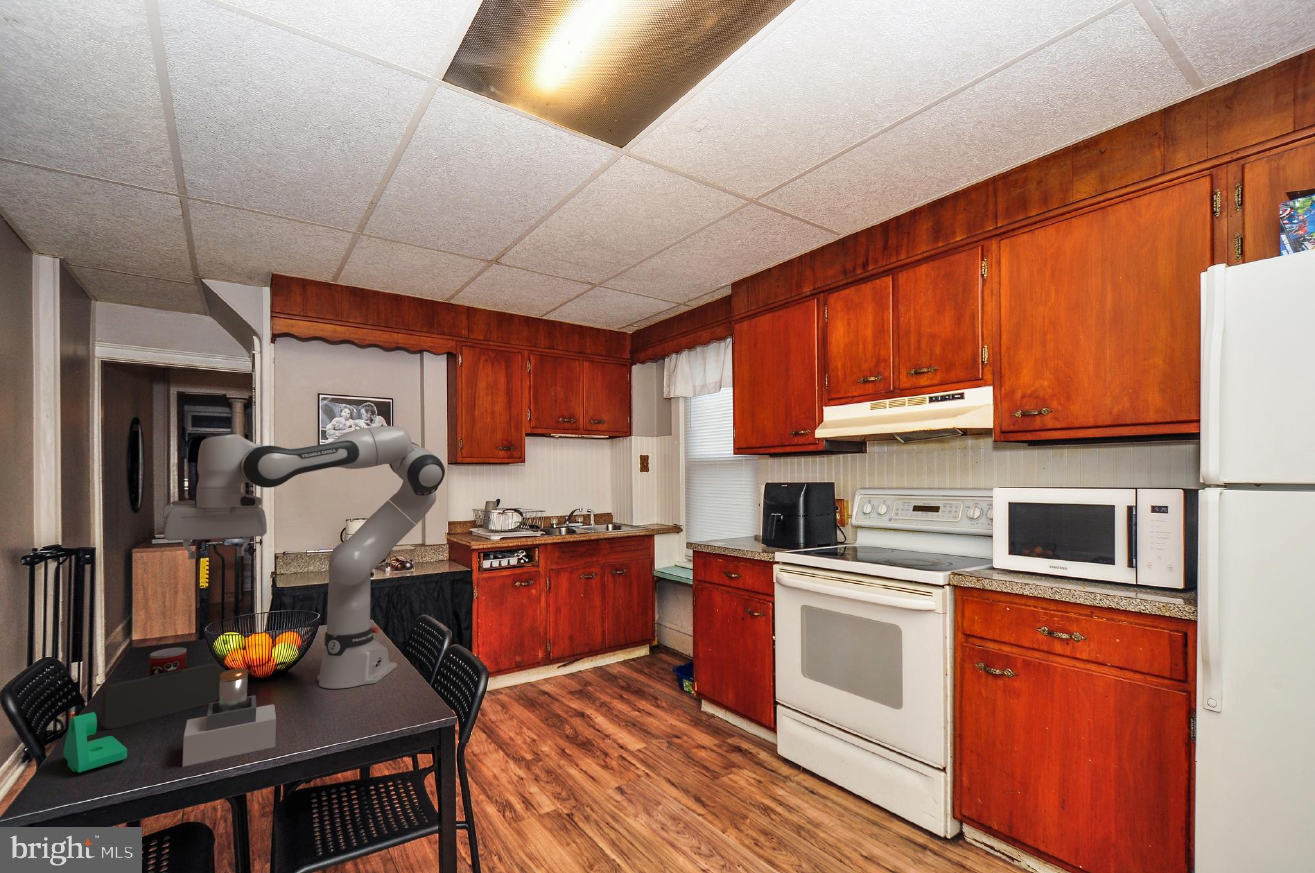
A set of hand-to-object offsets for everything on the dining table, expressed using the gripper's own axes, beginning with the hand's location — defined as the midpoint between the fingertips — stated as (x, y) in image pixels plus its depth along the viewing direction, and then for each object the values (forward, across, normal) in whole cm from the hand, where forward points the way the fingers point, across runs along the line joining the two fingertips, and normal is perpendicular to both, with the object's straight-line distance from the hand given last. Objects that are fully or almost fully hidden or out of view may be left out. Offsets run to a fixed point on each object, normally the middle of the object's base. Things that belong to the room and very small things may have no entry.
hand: (216, 557), depth 148 cm
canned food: (+39, -11, +30) cm, 51 cm away
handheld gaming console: (+39, -10, +13) cm, 43 cm away
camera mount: (+40, -19, -10) cm, 45 cm away
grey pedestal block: (+39, +4, -18) cm, 43 cm away
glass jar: (+33, +4, -18) cm, 38 cm away
